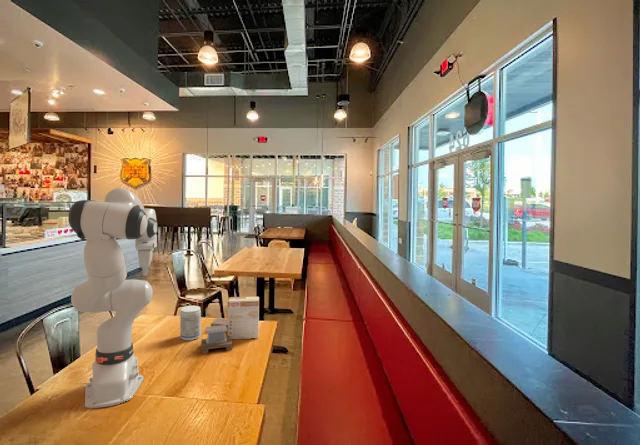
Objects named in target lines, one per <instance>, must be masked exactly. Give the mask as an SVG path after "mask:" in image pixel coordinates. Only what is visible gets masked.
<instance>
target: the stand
mask: <svg viewBox="0 0 640 445" xmlns="http://www.w3.org/2000/svg"><path fill="white" fill-rule="evenodd" d="M225 336H226V335H225ZM226 339H227V343H219V344H211V345H206V338H202V339H201V340H200V342H201V351H202V352H201V353H202V355H203V354H204V355H205V354H209V350H213V349H221V348H225V350H226V351H232V350H233V342H232V339H231V338H230V336H228V335H227V336H226Z"/></svg>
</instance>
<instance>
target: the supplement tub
mask: <svg viewBox="0 0 640 445" xmlns="http://www.w3.org/2000/svg"><path fill="white" fill-rule="evenodd" d="M179 312H180V314H179V320H180V321H179V322H180V332H179V333H180V335H179V336H180V339H182V340H183V341H194V339H195V340H197V339H199V338H200V337H201V334H202V328H201V327H202V322H201V321H202V319H201V318H202V311H201V306H199V305H186V306H183V307H181V308H180V311H179Z"/></svg>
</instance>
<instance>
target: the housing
mask: <svg viewBox="0 0 640 445" xmlns="http://www.w3.org/2000/svg"><path fill="white" fill-rule="evenodd" d="M225 331H227V327H226V325H221V326H211V325H210V326H205V333H206V334H207V338H205V339H206V345H211V344H219V343H227V339H226V334H225V333H226V332H225Z"/></svg>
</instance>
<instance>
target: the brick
mask: <svg viewBox="0 0 640 445" xmlns="http://www.w3.org/2000/svg"><path fill="white" fill-rule="evenodd" d="M221 325H226V327H227V331H225V333H228V318H223V317H216V318H214V320H213V321H212V322H211V323H210V327H211V326H221Z"/></svg>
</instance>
